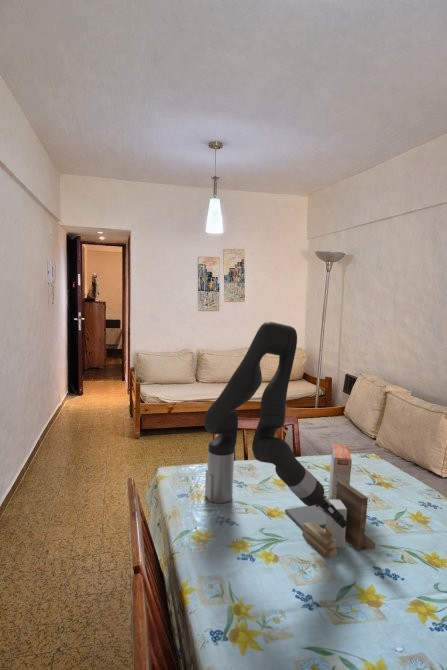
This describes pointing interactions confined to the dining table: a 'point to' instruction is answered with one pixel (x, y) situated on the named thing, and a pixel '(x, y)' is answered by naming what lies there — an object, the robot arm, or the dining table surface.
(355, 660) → the dining table surface
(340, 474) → the cracker box
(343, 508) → the skincare box
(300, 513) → the slate pad
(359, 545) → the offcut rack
